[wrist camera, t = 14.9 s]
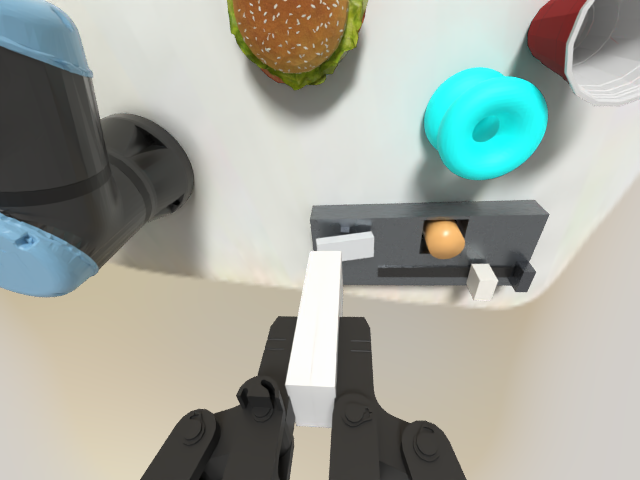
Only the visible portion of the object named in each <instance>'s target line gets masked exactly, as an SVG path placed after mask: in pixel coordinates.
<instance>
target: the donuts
mask: <svg viewBox="0 0 640 480" xmlns="http://www.w3.org/2000/svg"><path fill="white" fill-rule="evenodd" d="M547 122H548V108H547V104H546V101H545V98H544V97H543V95H542V93H541V92H540V91H539V89H538V88H537V87H536V86H534V85H533V84H532V83H530V82H528V81H526V80H524V79H521V78H517V77H510V76H504V75H502V74H501V73H499V72H497V71H495V70H493V69H489V68H481V67H478V68H470V69H466V70H463V71H461V72H459V73H457V74H455V75H453V76H451V77H450V78H448V79H447V80H446V81H445V82H444V83H442V84H441V85H440V86H439V87H438V89H437V90H436V91H435V92H434V94H433V95H432V97H431V99H430V101H429V103H428V105H427V108H426V112H425V117H424V128H425V133H426V136H427V138H428V140H429V142H430V143H431V145H432V146H433V147H434V148H435V149H436V150H438V152H439V155H440V158H441V160H442V161H443V163H444V164H445V166H446V167H447V168H448V169H449V170H450V171H451V172H453V173H454V174H456V175H458V176H460V177H462V178H466V179H470V180H487V179H493V178H496V177H500V176H502V175H505V174H507V173H509V172H511V171H513V170H514V169H516V168H517V167H519V166H520V165H521V164H523V163H524V162H525V161H526V160H527V159H528V158H529V157H530V156H531V155H532V154H533V153H534V151H535V150H536V149H537V147H538V146H539V144H540V142H541V140H542V138H543V136H544V134H545V131H546V127H547Z"/></svg>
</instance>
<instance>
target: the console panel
mask: <svg viewBox="0 0 640 480" xmlns="http://www.w3.org/2000/svg"><path fill="white" fill-rule="evenodd" d="M548 217H549V214H548V213H547V212H546V211H545V210H544V209H543V208H542V207H541V206H540V205H539V204H538V203H537V202H536V201H535V200H517V201H478V202H440V203H401V204H363V205H324V206H313V208H312V213H311V217H310V223H311V232H312V241H313V250H314V251H317V245H316V239H318V238H325V237H333V236H340V235H347V234H355V233H362V232H370V231H371V232H372V234H373V236H374V257H369V258H362V259H355V260H347V261H342V278H343V285H467V284H466V282H467V279H468V275H469V271H470V268H471V264H489V265H490V267H491V269H492V271H493V272H494V274H495V276H496V278H497V279H498V283H497V285H510V286H512V287H513V289H514V290H515V292H527V291H528V289H529V287H530V284H531V282H532V280H533V278H534V276H535V273H536V271H535V270H534V268H533V267H532V266H531V264H530V263H529V261H530V259H531V256H532V254H533V252H534V249H535V247H536V245H537V242H538V240H539V238H540V235H541V233H542V231H543V228H544V226H545V224H546V221H547V219H548ZM453 219H457V223H456V224H457V226H458V228H459V230H460V232H461V234H462V236H463V238H464V240H465V246H464V249H463V250H462V251H461V253H459V254H458V255H457V256H455V257H453V258H450V259H438V258H435V257H433V256H432V255H431V254H430V252H429V250H428V247H427V244H426V241H425V238H421V237H422V230H423V223H424V220H453Z"/></svg>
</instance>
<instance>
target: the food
mask: <svg viewBox="0 0 640 480" xmlns="http://www.w3.org/2000/svg"><path fill="white" fill-rule="evenodd" d="M367 3H368V0H227V4H228V13H229V20H230V29H231V33H232V34H234V35H235V38H236V42H237V44H238V45H239V47H240V48H241V50H242V51H243V53H244V54H245V55H246V56H247V57H248V58H249V59H250V60H251V61H252V62H253V63H255V64H256V65H257V66H258V67H259V68H260V69H261V70H262V71H263V72H264V73H265V74H266V75H267V76H268V77H270V78H271V79H273V80H274V81H276V82H278V83H285V84H287V85H288V86H290V87H291V88H293V90H299V89H301V88H303V87H304V86H305V85H319V84H321V83H323V82H324V81H325V79H326V74H333V72H334V70H335V68H336V67H337V66H338V63H339V62H340V61H341V60H342V59H343V58H344V57H345V55H346V54H347V51H348V50H352V49H353V48H355V47H357V46H356V44H357V41H358V32H359V31H360V28H361V26H362V23H363V20H364V18H365V11H366V6H367Z"/></svg>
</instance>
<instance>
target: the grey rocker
mask: <svg viewBox="0 0 640 480" xmlns="http://www.w3.org/2000/svg"><path fill="white" fill-rule="evenodd" d="M316 245H317V251H341V256H342V261H347V260H355V259H362V258H369V257H374V236H373V234H372V232H371V231H370V232H362V233H355V234H347V235H340V236H333V237H325V238H318V239H316Z"/></svg>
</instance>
